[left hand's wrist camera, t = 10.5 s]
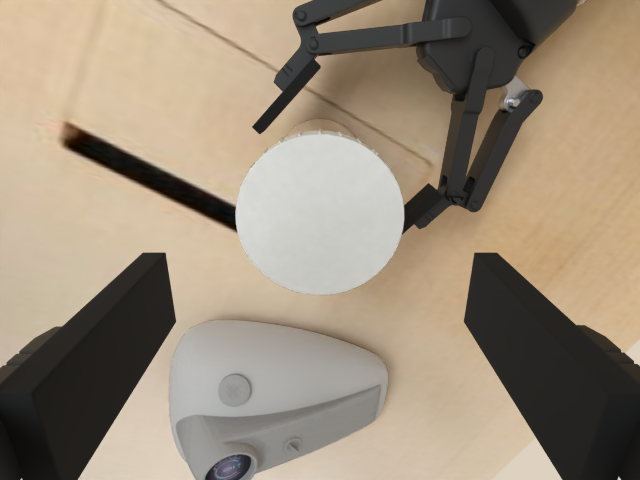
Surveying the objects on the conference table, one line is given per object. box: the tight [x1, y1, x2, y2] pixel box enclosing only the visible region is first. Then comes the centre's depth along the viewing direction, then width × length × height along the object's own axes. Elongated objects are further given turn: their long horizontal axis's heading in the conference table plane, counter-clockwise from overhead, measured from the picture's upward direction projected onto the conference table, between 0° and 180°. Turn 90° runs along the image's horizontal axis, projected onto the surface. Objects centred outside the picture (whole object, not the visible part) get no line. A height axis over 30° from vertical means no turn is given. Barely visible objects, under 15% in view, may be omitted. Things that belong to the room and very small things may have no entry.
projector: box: [169, 320, 388, 480], centre depth 39 cm, size 22×23×15 cm
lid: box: [236, 129, 404, 295], centre depth 22 cm, size 9×9×2 cm
